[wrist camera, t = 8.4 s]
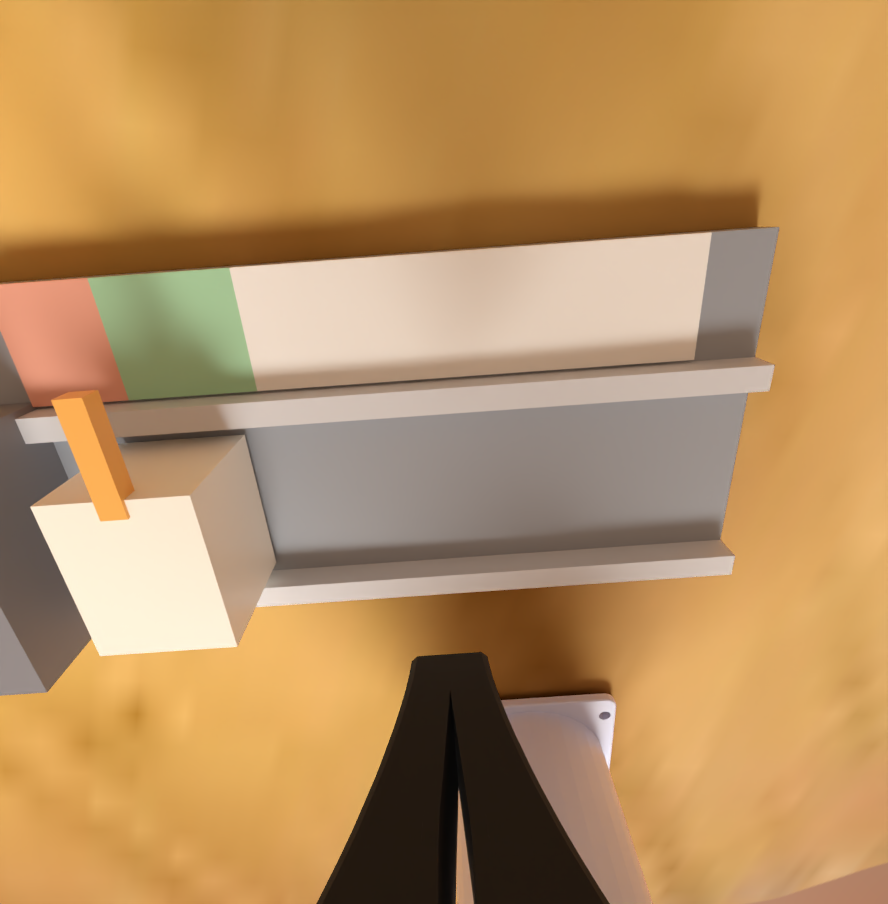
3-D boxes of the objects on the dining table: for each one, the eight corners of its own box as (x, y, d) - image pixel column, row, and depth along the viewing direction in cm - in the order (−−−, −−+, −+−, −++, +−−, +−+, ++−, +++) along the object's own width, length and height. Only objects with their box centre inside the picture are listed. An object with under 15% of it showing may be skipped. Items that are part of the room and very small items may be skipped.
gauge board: (700, 556, 20) (780, 654, 15) (101, 598, 20) (5, 706, 16) (758, 226, 15) (901, 227, 10) (-36, 285, 15) (-237, 310, 11)
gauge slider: (276, 562, 18) (236, 649, 14) (166, 569, 18) (98, 658, 14) (223, 350, 15) (154, 392, 11) (90, 360, 15) (-23, 405, 11)
